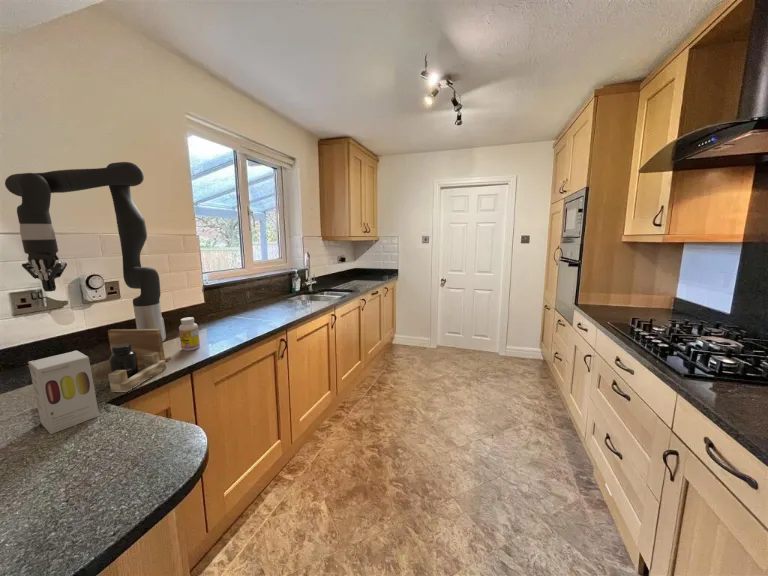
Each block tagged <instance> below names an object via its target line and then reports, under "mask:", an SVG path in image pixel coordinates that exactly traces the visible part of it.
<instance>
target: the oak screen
mask: <svg viewBox="0 0 768 576" xmlns="http://www.w3.org/2000/svg"><path fill="white" fill-rule="evenodd" d="M107 335H108V341H109V345H110V346H109V347H110V352H111V355H113V353H112V347H113V346H115V345H118V344H124V343H130V344H131V348H132V350H131V351H134V352H135V353H136V356H137V363H138V365H145V363H144V355H146V354H148V353H158V354H159V361H161V360H165V363H166V361H167V362H168V361H170V360H171V359H172V357H171V356H169V355H167V356H166V355H165V349H164V343H163V341H162V336H161V329H137V328H133V329H132V328H129V329H128V328H122V329H119V328H117V329H115V328H113V329H112V328H111V329H109V330H107ZM169 359H170V360H169Z"/></svg>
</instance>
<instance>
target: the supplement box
mask: <svg viewBox="0 0 768 576" xmlns="http://www.w3.org/2000/svg"><path fill="white" fill-rule="evenodd" d="M27 364H28V367H29V372H30V376H31V381H32V386H33V391H34V396H35V401H36V406H37V410H38V415H39V421H40V424H41V425H42V426H43V427H44V428H45V430H46V431H47V432H48V433H49V434H50V435H53V434H55V433H57V432H61V431H63V430H65V429H68V428H69V429H70V428H71V427H74V426H76V425H79V424H81V423H84V422H87V421H90V420H92V419H95V418H97V417H99V416H100V415H99V408H98V404H97V403H98V402H97V396H96V391H95V385H94V381H93V373H92V369H91V363H90V358H89V356H88V355H85V354H84V353H82V352H81V351H78V349H77V350H73V351H69V352H65V353H61V354H57V355H52V356H48V357H47V356H46V357H44V358H39V359H36V360H31V361H30V360H29V361H28V363H27Z"/></svg>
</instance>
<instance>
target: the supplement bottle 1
mask: <svg viewBox="0 0 768 576" xmlns="http://www.w3.org/2000/svg"><path fill="white" fill-rule="evenodd" d="M131 350H132V348H131V344H130V343H124V344H118V345H115V346H113V347H112V353H113V355H112V353H111V356H110V357H109V359H108V361H109V369H110V373H112V372H114V371H116V370H126V372H127V378H128V379H129V378H130V377H132V376H134V375H135V374H137V373H139V372H140V370H139V364H138V363H137V356H136V353H135V352H134V351H131Z"/></svg>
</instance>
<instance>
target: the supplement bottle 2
mask: <svg viewBox="0 0 768 576" xmlns="http://www.w3.org/2000/svg"><path fill="white" fill-rule="evenodd" d="M180 323H181V324H180V325H179V327H178V330H179V339H180V348H181V350H182V351H186V352H188V351H189V352H190V351H193V350H194V351H195V350H197V349H199V348H200V347H201V343H200V335H199V327H198V324H197V323H195V318H194V317H193V316H191V317H190V316H188V317H183V318H181V319H180Z"/></svg>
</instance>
